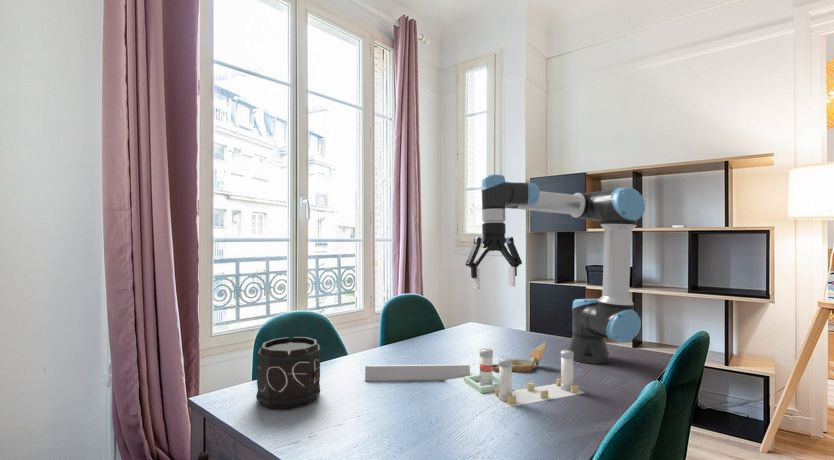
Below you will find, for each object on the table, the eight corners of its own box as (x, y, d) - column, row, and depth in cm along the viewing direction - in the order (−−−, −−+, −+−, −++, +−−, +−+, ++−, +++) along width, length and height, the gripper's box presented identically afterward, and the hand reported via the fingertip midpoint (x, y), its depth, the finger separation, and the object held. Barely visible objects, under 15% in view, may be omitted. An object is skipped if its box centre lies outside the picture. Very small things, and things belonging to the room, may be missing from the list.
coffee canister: (296, 417, 103) (297, 355, 104) (241, 406, 110) (242, 348, 110) (334, 392, 120) (335, 339, 121) (285, 383, 126) (285, 333, 127)
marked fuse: (488, 383, 126) (488, 347, 126) (495, 387, 122) (495, 351, 122) (477, 384, 124) (477, 349, 124) (483, 389, 120) (483, 352, 121)
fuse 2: (567, 385, 123) (567, 349, 123) (576, 390, 120) (576, 352, 120) (558, 387, 121) (558, 350, 122) (566, 391, 118) (566, 353, 118)
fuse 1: (507, 396, 114) (507, 357, 115) (514, 400, 111) (514, 360, 111) (496, 397, 113) (496, 358, 113) (503, 402, 110) (503, 362, 110)
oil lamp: (552, 374, 138) (552, 345, 138) (495, 379, 132) (495, 349, 132) (538, 366, 146) (539, 339, 146) (484, 371, 141) (484, 342, 141)
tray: (490, 382, 130) (490, 372, 130) (509, 393, 120) (509, 383, 120) (463, 386, 126) (463, 376, 126) (480, 398, 116) (480, 387, 117)
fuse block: (562, 387, 126) (562, 376, 126) (585, 398, 117) (585, 386, 117) (488, 400, 115) (488, 387, 115) (507, 412, 107) (507, 399, 107)
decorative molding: (366, 380, 139) (365, 382, 129) (367, 365, 140) (365, 366, 131) (464, 378, 141) (470, 380, 131) (464, 364, 142) (469, 365, 133)
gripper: (518, 223, 140) (519, 284, 140) (454, 222, 131) (455, 288, 130) (532, 222, 134) (533, 286, 133) (465, 221, 124) (466, 290, 123)
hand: (494, 287), depth 132 cm, fingers open, 13 cm apart
